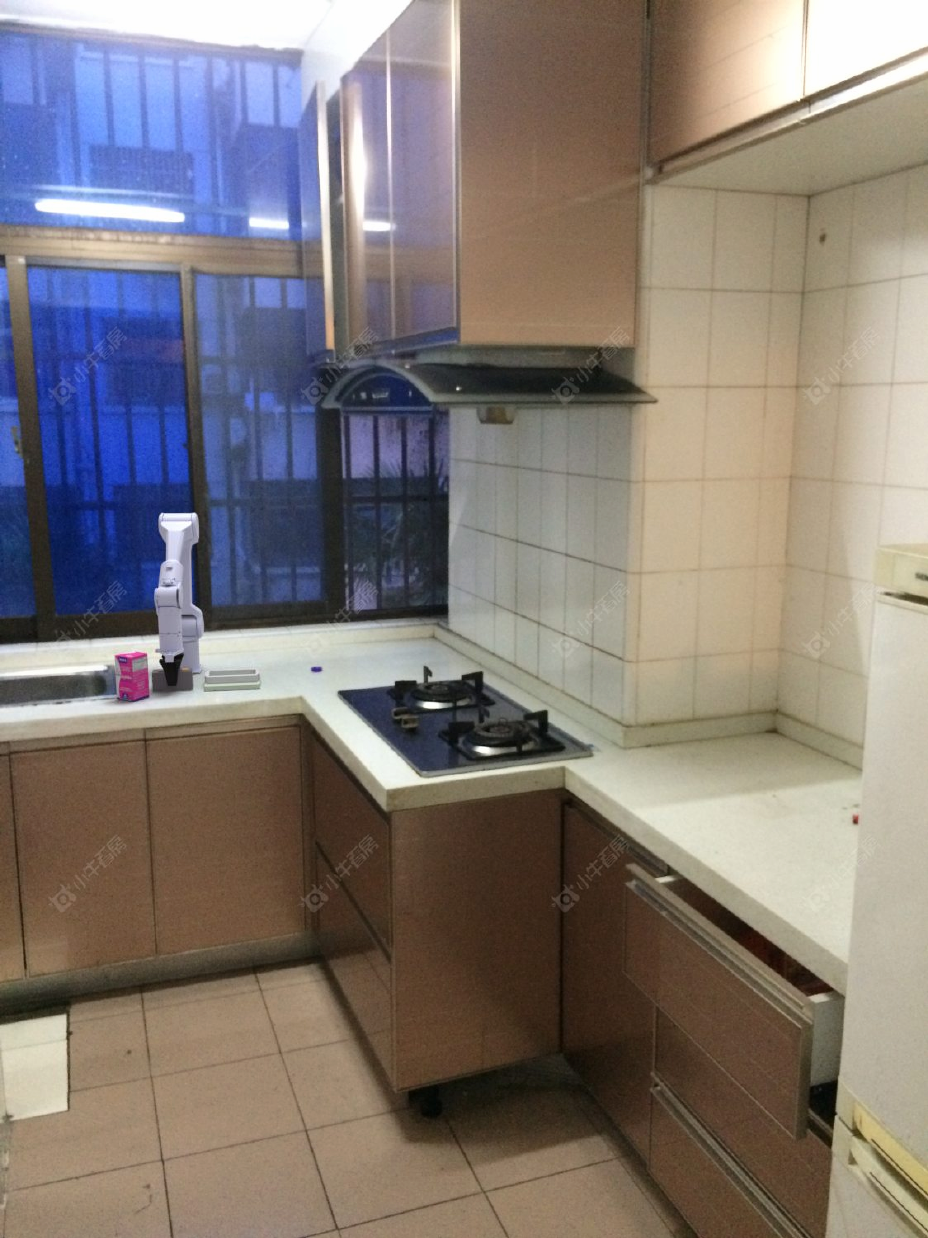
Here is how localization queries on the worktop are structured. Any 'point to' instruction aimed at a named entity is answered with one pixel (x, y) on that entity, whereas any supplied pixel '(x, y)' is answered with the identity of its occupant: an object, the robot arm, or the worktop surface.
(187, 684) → the charcoal bar
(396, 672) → the worktop surface
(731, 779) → the worktop surface
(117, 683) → the supplement box
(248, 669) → the mounting board
